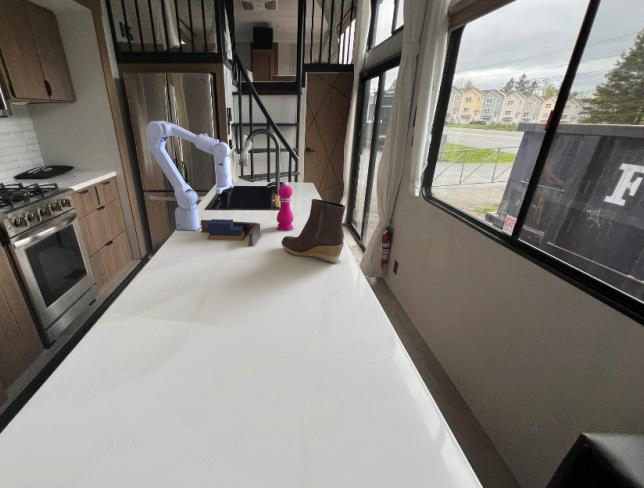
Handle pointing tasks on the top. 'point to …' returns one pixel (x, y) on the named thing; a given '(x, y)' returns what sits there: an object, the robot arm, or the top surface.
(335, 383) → the top surface
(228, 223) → the trainer
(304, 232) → the boot
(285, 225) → the pepper mill
